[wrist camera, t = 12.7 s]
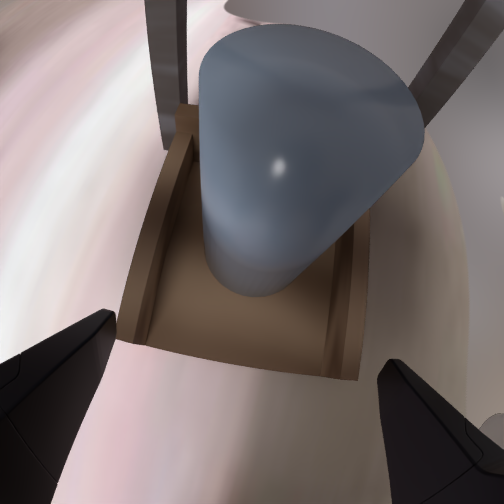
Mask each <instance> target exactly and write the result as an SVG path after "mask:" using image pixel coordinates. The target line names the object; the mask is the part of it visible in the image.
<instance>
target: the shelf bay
mask: <svg viewBox="0 0 504 504" xmlns="http://www.w3.org/2000/svg"><path fill="white" fill-rule="evenodd" d="M144 1H145V13H146V24H147V34H148V44H149V52H150V61H151V69H152V77H153V84H154V91H155V98H156V105H157V112H158V118H159V124H160V130H161V136H162V142H163V148H164V150H169V151H168V154H167V156H166V159H165V161H164V164H163V167H162V169H161V172H160V175H159V178H158V180H157V183H156V186H155V189H154V192H153V195H152V198H151V201H150V204H149V207H148V210H147V213H146V216H145V219H144V222H143V225H142V229H141V232H140V235H139V238H138V242H137V245H136V248H135V252H134V255H133V259H132V263H131V266H130V270H129V274H128V277H127V281H126V285H125V289H124V293H123V297H122V301H121V305H120V310H119V314H118V318H117V323H116V328H117V334H116V339H118V340H121V341H125V342H128V343H132V344H139V345H146V346H150V347H154V348H158V349H162V350H166V351H170V352H175V353H179V354H183V355H188V356H193V357H197V358H202V359H207V360H212V361H218V362H223V363H229V364H234V365H240V366H246V367H252V368H259V369H265V370H272V371H280V372H287V373H295V374H304V375H313V376H322V377H328V378H334V379H341V380H355V381H358V376H359V369H360V361H361V353H362V345H363V336H364V326H365V315H366V303H367V289H368V272H369V246H370V208H369V209H368V210H367V211H366V212H365V213H364V214H363V215H362V216H361V217H360V218H359V219H358V220H357V221H356V222H355V223H354V224H353V225H352V226H351V227H350V228H349V229H348V230H347V231H346V232H345V233H344V234H343V235H342V236H340V237H339V238H338V239H337V240H336V241H335V242H334V243H333V244H332V245H331V246H330V247H329V248H328V249H327V250H326V251H325V252H324V253H323V254H322V255H321V256H320V257H319V258H317V259H316V260H315V261H314V262H313V263H312V264H311V265H310V266H309V267H308V268H307V269H306V270H305V271H304V272H303V273H301V274H300V275H299V276H298V277H297V278H296V279H295V280H294V281H293V282H292V283H291V284H290V285H288V286H287V287H286V288H285V289H283V290H281V291H280V292H278V293H275V294H273V295H269V296H265V297H248V296H243V295H240V294H237V293H235V292H232V291H230V290H229V289H227V288H226V287H224V286H223V285H222V284H221V283H219V281H218V280H217V279H216V278H215V277H214V276H213V274H212V273H211V271H210V269H209V267H208V265H207V262H206V259H205V254H204V239H203V221H202V200H201V176H200V141H199V106H197V105H190V104H188V88H187V0H144ZM503 29H504V0H465V1H464V3H463V5H462V6H461V8H460V9H459V11H458V13H457V14H456V16H455V17H454V19H453V20H452V22H451V24H450V25H449V27H448V28H447V30H446V31H445V33H444V34H443V36H442V38H441V39H440V41H439V42H438V44H437V45H436V47H435V48H434V50H433V51H432V53H431V54H430V56H429V57H428V59H427V60H426V62H425V63H424V65H423V66H422V68H421V69H420V71H419V72H418V74H417V75H416V77H415V78H414V80H413V81H412V83H411V84H410V85H409V87H408V89H409V90H410V92H411V93H412V95H413V97H414V98H415V100H416V102H417V104H418V106H419V109H420V111H421V114H422V118H423V122H424V128H425V127H426V126H427V125H428V124H429V122H430V121H431V120H432V119H433V118H434V116H435V115H436V114H437V113H438V112H439V110H440V109H441V108H442V107H443V106H444V105H445V103H446V102H447V101H448V100H449V98H450V97H451V96H452V95H453V94H454V92H455V91H456V90H457V89H458V87H459V86H460V85H461V84H462V82H463V81H464V80H465V79H466V77H467V76H468V75H469V74H470V72H471V71H472V70H473V69H474V67H475V66H476V65H477V63H478V62H479V61H480V60H481V58H482V57H483V56H484V54H485V53H486V52H487V51H488V49H489V48H490V46H491V45H492V44H493V43H494V41H495V40H496V39H497V37H498V36H499V35H500V33H501V32H502V31H503Z"/></svg>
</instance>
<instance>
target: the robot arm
mask: <svg viewBox="0 0 504 504" xmlns="http://www.w3.org/2000/svg"><path fill="white" fill-rule="evenodd" d="M116 334H117V328H116V315H115V312H114V311H111V310H107V309H101V310H99V311H97V312H95V313H93V314H91V315H89V316H88V317H86V318H84V319H82V320H80V321H78V322H76V323H75V324H73V325H71V326H69V327H67V328H65V329H63V330H62V331H60V332H58V333H56V334H54V335H52V336H51V337H49V338H47V339H45V340H43V341H41V342H40V343H38V344H36V345H34V346H32V347H30V348H29V349H27V350H25V351H23V352H21V355H20V354H18V355H16V356H14V357H12V358H10V359H8V360H7V361H5V362H3V363H1V364H0V504H51V501H52V499H53V496H54V493H55V490H56V487H57V483H58V481H59V479H60V476H61V473H62V471H63V468H64V465H65V463H66V460H67V458H68V455H69V453H70V450H71V448H72V445H73V443H74V440H75V438H76V435H77V433H78V431H79V428H80V426H81V424H82V421H83V419H84V417H85V414H86V412H87V410H88V408H89V405H90V403H91V401H92V399H93V397H94V394H95V392H96V390H97V388H98V386H99V384H100V381H101V379H102V377H103V374H104V371H105V368H106V365H107V362H108V359H109V356H110V353H111V350H112V347H113V345H114V342H115V339H116ZM377 385H378V396H379V409H380V419H381V426H382V432H383V438H384V444H385V450H386V457H387V464H388V472H389V479H390V488H391V497H392V504H504V449H502V448H501V447H500V446H499V445H497V444H496V443H495V442H493V441H492V440H491V439H490V438H488V437H487V436H486V435H485V434H483V433H482V432H481V431H480V430H479V429H477V428H476V427H475V426H474V425H473V424H472V423H471V422H469V421H468V420H467V419H466V418H464V416H463V415H462V414H461V413H460V412H458V411H457V410H456V409H455V408H454V407H453V406H452V405H451V404H450V403H449V402H447V401H446V400H445V399H444V398H443V397H442V396H441V395H440V394H438V393H437V392H436V391H435V390H434V389H433V388H432V387H431V386H430V385H428V384H427V383H426V382H425V381H424V380H423V379H422V378H421V377H419V376H418V375H417V374H416V373H415V372H414V371H413V370H412V369H410V368H409V367H408V366H407V365H406V364H405V363H404V362H403V361H401V360H400V359H389V360H388V361H387V362H386V364H385V365H384V367H383V368H382V370H381V372H380V373H379V375H378V378H377Z"/></svg>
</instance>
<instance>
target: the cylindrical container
mask: <svg viewBox="0 0 504 504" xmlns="http://www.w3.org/2000/svg"><path fill="white" fill-rule="evenodd" d="M479 430H480V431H481V432H482V433H483V434H485V435H486V436H487V437H488V438H490V439H491V440H492V441H493V442H495V443H496V444H497V445H499V446H500V447H501V448H502V449H504V414H501V413H499V414H495V415H493V416H491V417H490V418H489V419H487V420H486V421H485V422H484V423H483V425H482V426H481V427H480V428H479Z"/></svg>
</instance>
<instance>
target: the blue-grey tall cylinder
mask: <svg viewBox="0 0 504 504" xmlns="http://www.w3.org/2000/svg"><path fill="white" fill-rule="evenodd" d="M424 133H425V131H424V122H423V118H422V114H421V111H420V109H419V106H418V104H417V102H416V100H415V98H414V97H413V95H412V93H411V92H410V90H409V89H408V87H407V86H406V85H405V83H404V82H403V81H402V80H401V79H400V77H399V76H398V75H397V74H396V73H395V72H394V71H393V70H392V69H391V68H390V67H389V66H387V65H386V64H385V63H384V62H383V61H382V60H380V59H379V58H378V57H376V56H375V55H373V54H372V53H370V52H369V51H367V50H366V49H364V48H362V47H361V46H359V45H357V44H355V43H353V42H351V41H349V40H347V39H345V38H342V37H340V36H338V35H335V34H332V33H329V32H326V31H322V30H319V29H315V28H310V27H305V26H299V25H290V24H267V25H259V26H253V27H249V28H245V29H242V30H239V31H236V32H234V33H231V34H229V35H227V36H225V37H224V38H222V39H221V40H219V41H218V42H217V43H216V44H214V45H213V46H212V47H211V48H210V49H209V51H208V52H207V53H206V55H205V56H204V58H203V61H202V63H201V66H200V70H199V141H200V176H201V200H202V221H203V239H204V254H205V259H206V262H207V265H208V267H209V269H210V271H211V273H212V274H213V276H214V277H215V278H216V279H217V280H218V281H219V283H221V284H222V285H223V286H224V287H226V288H227V289H229V290H230V291H232V292H235V293H237V294H240V295H243V296H248V297H265V296H269V295H273V294H275V293H278V292H280V291H281V290H283V289H285V288H286V287H287V286H288V285H290V284H291V283H292V282H293V281H294V280H295V279H296V278H297V277H298V276H299V275H300V274H301V273H303V272H304V271H305V270H306V269H307V268H308V267H309V266H310V265H311V264H312V263H313V262H314V261H315V260H316V259H317V258H319V257H320V256H321V255H322V254H323V253H324V252H325V251H326V250H327V249H328V248H329V247H330V246H331V245H332V244H333V243H334V242H335V241H336V240H337V239H338V238H339V237H340V236H342V235H343V234H344V233H345V232H346V231H347V230H348V229H349V228H350V227H351V226H352V225H353V224H354V223H355V222H356V221H357V220H358V219H359V218H360V217H361V216H362V215H363V214H364V213H365V212H366V211H367V210H368V209H369V208H370V207H371V206H372V205H373V204H374V203H375V202H376V201H377V200H378V199H379V198H380V197H381V196H382V195H383V194H384V193H385V192H386V191H387V190H388V189H389V188H390V187H391V186H392V185H393V184H394V183H395V182H396V181H397V179H398V178H399V177H400V176H401V175H402V174H403V173H404V172H405V171H406V170H407V169H408V168H409V167H410V166H411V165H412V164H413V162H414V161H415V160H416V159H417V158H418V156H419V154H420V152H421V150H422V147H423V143H424Z"/></svg>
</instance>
